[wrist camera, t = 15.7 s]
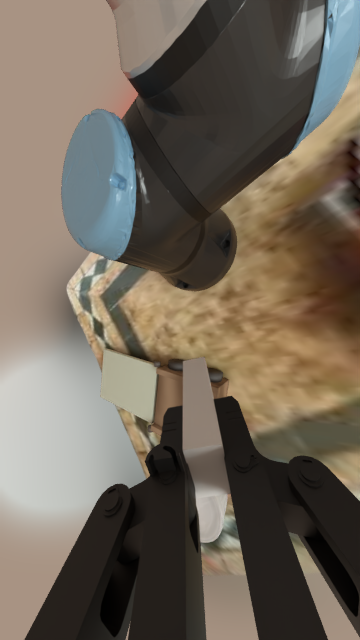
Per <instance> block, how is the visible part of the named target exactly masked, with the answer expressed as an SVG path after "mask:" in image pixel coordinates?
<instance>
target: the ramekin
mask: <svg viewBox="0 0 360 640" xmlns="http://www.w3.org/2000/svg"><path fill="white" fill-rule="evenodd" d="M195 493H196V492H195ZM226 506H227V494H224V495H217V496H210V497H203V498H197V495H196V507H197V510H198V514H199V527H200V542H206V543H207V542H212V541H214V540H215V539H216V538H217V537H218V536H219V535H220V533H221V530H222V527H223V524H224V514H225V510H226Z"/></svg>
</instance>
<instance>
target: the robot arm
mask: <svg viewBox="0 0 360 640" xmlns="http://www.w3.org/2000/svg"><path fill="white" fill-rule="evenodd" d="M106 1H107V2H108V4H109V5H110V7H111V9H112V12H113V14H114V17H115V20H116V28H117V38H118V47H119V56H120V64H121V70H122V71H123V73H124V74H125V76H126V77H127V78H128V80H129V81H130V83H131V84H132V85H133V87H134V88H135V89H136V91H137V92H138V96H137V98H136V99H135V101H134V102H133V104H132V105H131V107H130V108H129V110H128V111H127V112H126V114H125V116H124V117H123V118H122V119H120V118H119V117H118V116H116V115H115V114H114V113H111V112H108V111H106V110H103V109H95V110H93V111H92V112H91V115H90V114H88V115H86V116H84V117H83V118H82V120H81V121H80V122H79V124H78V126H77V128H76V129H75V131H74V133H73V135H72V138H71V141H70V143H69V146H68V149H67V153H66V157H65V161H64V167H63V174H62V187H61V195H62V196H61V197H62V207H63V214H64V218H65V222H66V225H67V227H68V230H69V232H70V234H71V235H72V237H73V238H74V240H75V241H76V242H77V243H78V244H79V245H80V246H81V247H83V248H84V249H86V250H88V251H91V252H93V253H96V254H99V255H101V256H104V257H105V258H106V259H109V260H114V261H118V262H121V263H125V264H129V265H133V266H137V267H140V268H144V269H148V270H152V271H156V272H159V273H160V274H161V275H162V276H163V277H164V278H165V279H166V280H167V281H168V282H169V283H170V284H172V285H173V286H175V287H177V288H180V289H183V290H188V291H201V290H205V289H207V288H209V287H211V286H213V285H215V284H216V283H217V282H219V281H220V280H221V279H222V278H223V277H224V276H225V274H226V273H227V272H228V270H229V269H230V267H231V265H232V263H233V260H234V257H235V254H236V248H237V236H236V231H235V228H234V226H233V224H232V222H231V220H230V219H229V218H228V217H227V215H226V214H225V213H224V212H223V211H222V210H221V209H220V208H221V207H222V206H223V205H225V204H226V203H227V202H228V201H230V200H231V199H232V198H233V197H234V196H236V195H237V194H238V193H239V192H241V191H242V190H243V189H244V188H246V187H247V186H248V185H249V184H251V183H252V182H253V181H254V180H256V179H257V178H258V177H259V176H260V175H262V174H263V173H264V172H265V171H267V170H268V169H269V168H270V167H272V166H273V165H274V164H275V163H277V162H278V161H279V160H280V159H283V158H285V157H286V156H288V155H289V154H291V153H292V151H293V150H294V149H296V148H297V146H298V145H299V143H300V142H301V141H302V140H303V139H304V138H305V137H306V136H308V135H309V134H310V133H311V132H312V131H313V130H314V129H316V128H317V127H318V126H319V125H320V124H321V123H322V122H323V121H324V120H325V119H326V118H327V117H328V116H329V115H330V113H331V112H332V111H333V110H334V108H335V107H336V105H337V104H338V102H339V100H340V99H341V97H342V95H343V93H344V91H345V89H346V87H347V84H348V82H349V79H350V77H351V74H352V71H353V68H354V65H355V61H356V58H357V54H358V50H359V45H360V0H106ZM145 463H146V466H147V468H148V471H149V473H150V476H149V477H148V478H147V479H146V480H144V481H143V482H141V483H139V484H137V485H135V486H134V487H132V488H130V489H129V488H128V487H127V486H126V485H123V484H115V485H113V486H111V487H109V488H108V489H107V490H106V491H105V492H104V493H103V494H102V495H101V496H100V498H99V499H98V501H97V503H96V505H95V507H94V509H93V510H92V512H91V514H90V516H89V518H88V520H87V522H86V524H85V526H84V528H83V529H82V531H81V533H80V535H79V537H78V539H77V541H76V543H75V545H74V546H73V548H72V550H71V552H70V554H69V556H68V558H67V560H66V562H65V564H64V566H63V567H62V570H61V572H60V573H59V575H58V577H57V579H56V581H55V583H54V585H53V586H52V588H51V590H50V592H49V594H48V596H47V598H46V600H45V602H44V604H43V606H42V608H41V609H40V611H39V613H38V615H37V617H36V619H35V621H34V623H33V624H32V627H31V628H30V630H29V632H28V634H27V636H26V638H25V640H125V639H126V636H127V632H128V628H129V624H130V629H129V636H128V640H206V627H205V612H204V611H205V610H204V593H203V576H202V560H201V543H200V527H199V514H198V510H197V507H196V495H197V498H203V497H210V496H217V495H224V494H231V498H232V503H233V508H234V513H235V518H236V524H237V529H238V534H239V539H240V544H241V549H242V555H243V560H244V565H245V570H246V575H247V580H248V586H249V591H250V596H251V601H252V606H253V612H254V617H255V622H256V627H257V632H258V637H259V640H328V639H327V636H326V633H325V631H324V628H323V625H322V622H321V620H320V617H319V614H318V612H317V609H316V606H315V603H314V601H313V598H312V596H311V593H310V590H309V587H308V585H307V582H306V579H305V577H304V574H303V571H302V568H301V566H300V563H299V560H298V558H297V555H296V552H295V549H294V547H293V544H292V541H291V539H290V536H289V533H288V532H291V533H295V534H298V536H299V538H300V539H301V541H302V543H303V544H304V546H305V548H306V549H307V551H308V553H309V554H310V556H311V557H312V559H313V561H314V562H315V564H316V566H317V567H318V569H319V571H320V572H321V574H322V576H323V577H324V579H325V581H326V582H327V584H328V585H329V587H330V589H331V591H332V592H333V594H334V595H335V597H336V599H337V600H338V602H339V604H340V605H341V607H342V609H343V610H344V612H345V614H346V615H347V617H348V619H349V620H350V622H351V623H352V625H353V627H354V629H355V630H356V632H357V633H358V635H359V637H360V501H359V500H358V499H357V498H356V497H355V496H354V495H353V494H352V493H351V492H350V491H349V490H348V489H347V487H346V486H345V485H344V484H343V483H342V482H341V481H340V480H339V479H338V478H337V477H336V476H335V475H334V474H333V473H332V472H331V471H330V470H329V469H328V467H326V466H325V465H324V464H323V463H321V462H320V461H318V460H316V459H314V458H312V457H308V456H297V457H294V458H293V459H292V460H290V462H289V464H288V463H282V462H276V461H273V460H269V459H267V458H265V457H264V456H262V455H261V454H260V453H259V452H258V451H257V450H256V448H255V446H254V444H253V442H252V439H251V436H250V433H249V431H248V428H247V425H246V422H245V420H244V417H243V414H242V412H241V409H240V406H239V403H238V401H237V400H236V399H234V398H233V397H232V396H228V397H223V398H217V399H214V397H213V393H212V388H211V383H210V379H209V374H208V370H207V365H206V361H205V357H201V358H196V359H191V360H186V361H183V405H182V406H176V407H170V408H168V409H167V411H166V412H165V414H164V416H163V426H162V433H161V441H160V444H159V445H157V446H155V447H154V448H153V449H152V450H151V451H150V452H149V453H148V455H147V457H146V460H145ZM195 492H196V493H195ZM130 621H131V622H130Z"/></svg>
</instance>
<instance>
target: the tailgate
mask: <svg viewBox="0 0 360 640" xmlns="http://www.w3.org/2000/svg"><path fill="white" fill-rule="evenodd" d="M156 368H159V367H154V363H152V362H149V361H145V360H142V359H139V358H136V357H133V356H130V355H126V354H123V353H120V352H117V351H114V350H110V349H104V354H103V368H102V382H101V395H100V397H102V398H104V399H106V400H107V401H109V402H111V403H113V404H115V405H117V406H119V407H121V408H123V409H125V410H127V411H128V412H130V413H132V414H134V415H136V416H138V417H140V418H142V419H144V420H146V421H148V422H150V423H151V424H152V423H154V422H155V413H156V402H157V392H158V381H159V374H156Z"/></svg>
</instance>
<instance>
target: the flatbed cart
mask: <svg viewBox="0 0 360 640" xmlns="http://www.w3.org/2000/svg"><path fill="white" fill-rule="evenodd" d="M183 361H184V360H180V359H171V360H169V362H168V365H165V366H162V367H160V363H161V362H159V361H154V367H159V368H156V374H159V381H158V392H157V402H156V413H155V423H154V424H152V425H149V426H148V432H155V433H156V434H158V435H160V436H161V433H162V426H163V416H164V414H165V412H166V411H167V409H168V408H170V407H176V406H182V405H183ZM207 370H208V374H209V379H210V383H211V388H212V393H213V397H214V399H217V398H223V397H227V391H228V383H229V380H228V379H225V378H222V376H223V372H221V371H220V370H217V369H213V368H207Z"/></svg>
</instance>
